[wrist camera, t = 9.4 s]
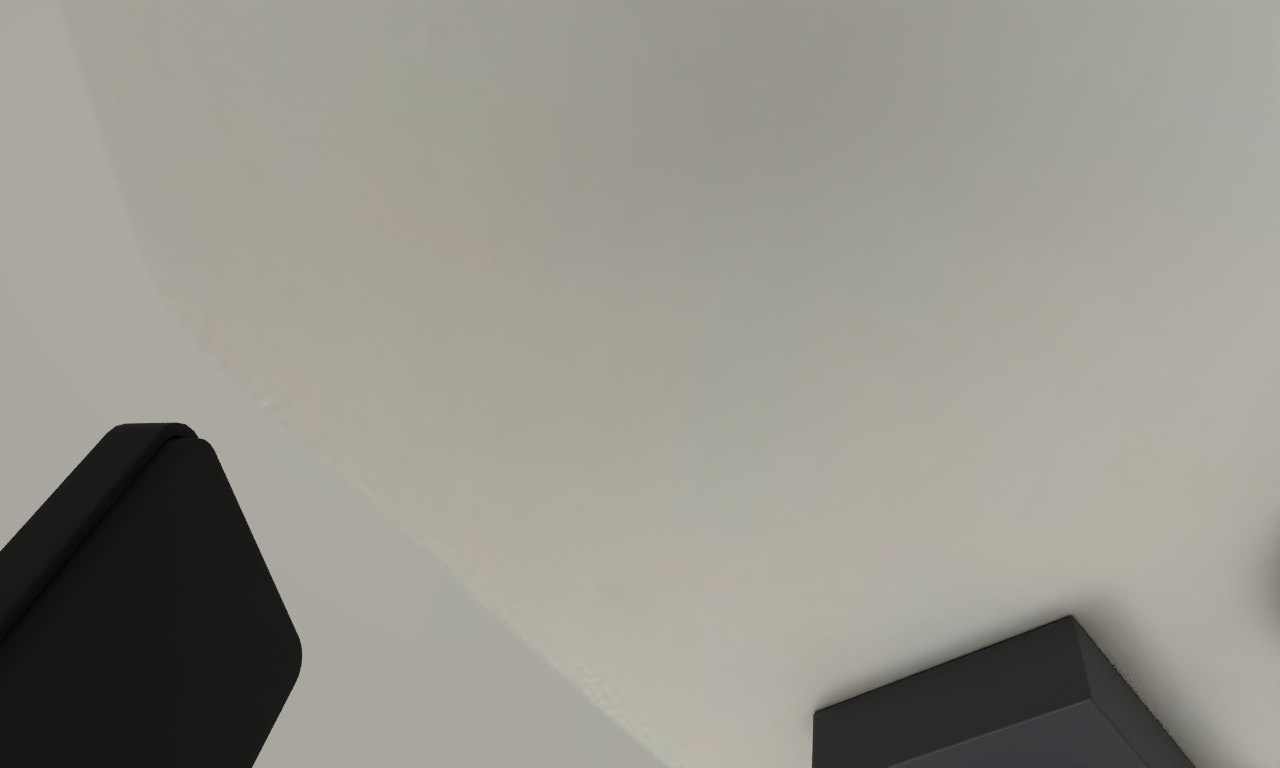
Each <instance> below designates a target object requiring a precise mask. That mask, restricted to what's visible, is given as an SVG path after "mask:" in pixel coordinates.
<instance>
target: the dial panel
mask: <svg viewBox="0 0 1280 768" xmlns="http://www.w3.org/2000/svg"><path fill="white" fill-rule="evenodd" d="M812 768H1195V767H1194V766H1193V765H1192V763H1191V762H1190V761H1189V760H1188V758H1187V757H1186V756H1185V755H1184V753H1183V752H1182V751H1181V750H1180V749H1179V747H1178V746H1177V745H1176V744H1175V742H1174V741H1173V740H1172V739H1171V737H1170V736H1169V735H1168V734H1167V733H1166V731H1165V730H1164V729H1163V728H1162V726H1161V725H1160V724H1159V723H1158V721H1157V720H1156V719H1155V718H1154V716H1153V715H1152V714H1151V713H1150V712H1149V710H1148V709H1147V708H1146V707H1145V705H1144V704H1143V703H1142V702H1141V700H1140V699H1139V698H1138V697H1137V696H1136V694H1135V693H1134V692H1133V691H1132V689H1131V688H1130V687H1129V686H1128V684H1127V683H1126V682H1125V681H1124V679H1123V678H1122V677H1121V676H1120V675H1119V673H1118V672H1117V671H1116V670H1115V668H1114V667H1113V666H1112V665H1111V663H1110V662H1109V661H1108V660H1107V659H1106V657H1105V656H1104V655H1103V654H1102V652H1101V651H1100V650H1099V649H1098V647H1097V646H1096V645H1095V644H1094V642H1093V641H1092V640H1091V639H1090V638H1089V636H1088V635H1087V634H1086V633H1085V631H1084V630H1083V629H1082V628H1081V626H1080V625H1079V624H1078V623H1077V621H1076V620H1075V619H1074V618H1073V617H1068V618H1065V619H1063V620H1060V621H1057V622H1055V623H1052V624H1049V625H1047V626H1044V627H1042V628H1039V629H1036V630H1034V631H1031V632H1028V633H1026V634H1023V635H1020V636H1018V637H1015V638H1012V639H1010V640H1007V641H1005V642H1002V643H999V644H997V645H994V646H991V647H989V648H986V649H983V650H981V651H978V652H975V653H973V654H970V655H968V656H965V657H962V658H960V659H957V660H954V661H952V662H949V663H946V664H944V665H941V666H938V667H936V668H933V669H930V670H928V671H925V672H923V673H920V674H917V675H915V676H912V677H909V678H907V679H904V680H901V681H899V682H896V683H893V684H891V685H888V686H886V687H883V688H880V689H878V690H875V691H872V692H870V693H867V694H864V695H862V696H859V697H856V698H854V699H851V700H849V701H846V702H843V703H841V704H838V705H835V706H833V707H830V708H827V709H825V710H822V711H819V712H817V713H815V714H814V715H813V753H812Z"/></svg>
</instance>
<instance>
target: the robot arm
mask: <svg viewBox="0 0 1280 768" xmlns="http://www.w3.org/2000/svg"><path fill="white" fill-rule="evenodd" d="M301 664H302V648H301V643H300V639H299V637H298V634H297V632H296V630H295V628H294V626H293V624H292V621H291V619H290V617H289V615H288V612H287V610H286V608H285V606H284V603H283V602H282V599H281V597H280V594H279V592H278V590H277V588H276V586H275V584H274V581H273V579H272V577H271V575H270V572H269V570H268V568H267V566H266V564H265V561H264V559H263V557H262V555H261V553H260V550H259V548H258V546H257V544H256V541H255V540H254V538H253V535H252V533H251V530H250V528H249V526H248V524H247V522H246V519H245V517H244V515H243V513H242V510H241V508H240V506H239V504H238V502H237V499H236V497H235V495H234V493H233V490H232V488H231V486H230V484H229V482H228V479H227V477H226V475H225V473H224V471H223V469H222V466H221V464H220V462H219V460H218V457H217V455H216V453H215V451H214V449H213V448H212V446H211V444H209V443H208V442H207V441H206V440H204V439H199V438H198V437H197V435H196V433H195V432H194V431H193V430H192V429H191V428H190V427H188V426H187V425H185V424H181V423H139V424H138V423H136V424H122V425H119V426H116V427H114V428H113V429H112V430H110V431H109V432H108V433H107V434H106V435H105V436H104V437H103V438H102V439H101V440H100V441H99V443H98V444H97V445H96V446H95V447H94V448H93V449H92V450H91V451H90V453H89V454H88V455H87V456H86V457H85V458H84V459H83V460H82V462H81V463H80V464H79V465H78V466H77V467H76V468H75V469H74V470H73V471H72V473H71V474H70V475H69V476H68V477H67V478H66V479H65V480H64V481H63V482H62V484H61V485H60V486H59V487H58V488H57V489H56V490H55V492H54V493H53V494H52V495H51V496H50V497H49V498H48V499H47V500H46V502H44V504H43V505H42V506H41V507H40V508H39V509H38V510H37V511H36V512H35V514H34V515H33V516H32V517H31V518H30V519H29V520H28V522H26V524H25V525H24V526H23V527H22V528H21V529H20V530H19V531H18V532H17V534H16V535H15V536H14V537H13V538H12V539H11V540H10V541H9V543H7V545H6V546H5V547H4V548H3V549H2V550H1V551H0V768H252V766H253V764H254V763H255V760H256V759H257V757H258V755H259V752H260V751H261V749H262V747H263V745H264V743H265V741H266V739H267V737H268V735H269V733H270V731H271V729H272V728H273V725H274V724H275V722H276V720H277V718H278V716H279V714H280V712H281V710H282V708H283V706H284V704H285V702H286V700H287V698H288V696H289V694H290V692H291V691H292V689H293V686H294V685H295V683H296V681H297V678H298V676H299V672H300V668H301Z"/></svg>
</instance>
